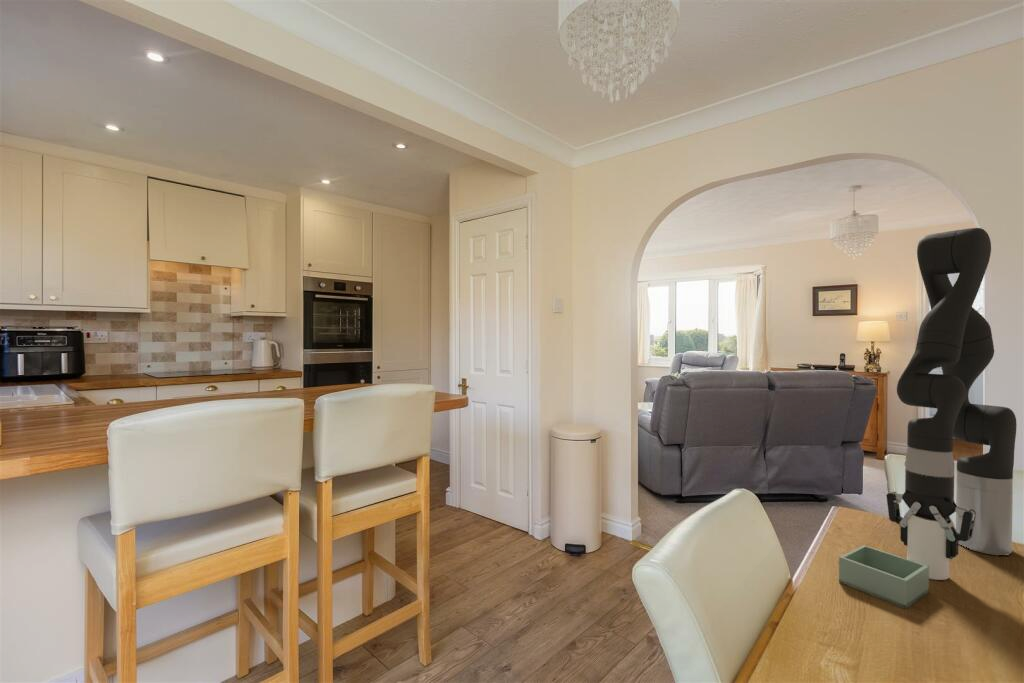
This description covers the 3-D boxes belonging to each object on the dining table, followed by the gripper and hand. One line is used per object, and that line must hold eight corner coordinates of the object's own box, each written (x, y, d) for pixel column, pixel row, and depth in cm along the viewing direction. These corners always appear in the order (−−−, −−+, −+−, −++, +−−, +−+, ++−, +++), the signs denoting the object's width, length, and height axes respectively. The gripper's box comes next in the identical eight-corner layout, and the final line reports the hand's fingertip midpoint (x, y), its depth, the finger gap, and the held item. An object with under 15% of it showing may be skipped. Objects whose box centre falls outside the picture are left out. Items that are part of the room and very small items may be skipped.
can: (957, 583, 93) (958, 523, 92) (919, 579, 94) (920, 520, 94) (934, 567, 99) (935, 511, 99) (900, 564, 100) (900, 508, 100)
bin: (863, 568, 98) (863, 544, 98) (928, 592, 89) (928, 566, 89) (838, 582, 93) (839, 556, 93) (905, 608, 83) (906, 581, 83)
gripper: (983, 476, 92) (982, 561, 92) (894, 460, 104) (893, 534, 104) (970, 482, 88) (969, 570, 88) (879, 464, 100) (878, 542, 100)
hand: (928, 550), depth 96 cm, fingers closed on can, 6 cm apart
